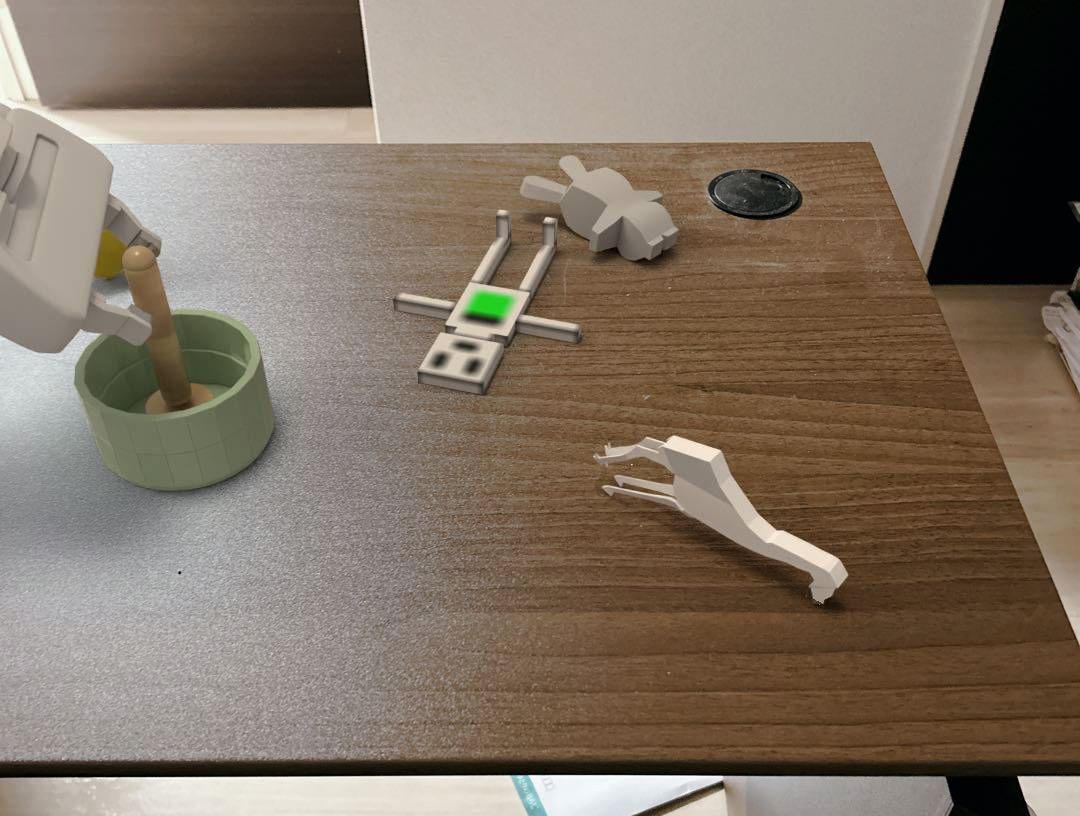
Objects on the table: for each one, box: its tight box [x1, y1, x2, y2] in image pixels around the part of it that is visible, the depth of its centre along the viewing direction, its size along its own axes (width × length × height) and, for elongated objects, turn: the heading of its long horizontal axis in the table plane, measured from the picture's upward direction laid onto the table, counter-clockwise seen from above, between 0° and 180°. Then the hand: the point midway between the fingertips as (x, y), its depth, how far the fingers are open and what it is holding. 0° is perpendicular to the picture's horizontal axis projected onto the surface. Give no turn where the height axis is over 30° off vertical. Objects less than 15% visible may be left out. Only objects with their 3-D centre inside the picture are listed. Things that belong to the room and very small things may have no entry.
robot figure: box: [392, 209, 583, 396], centre depth 97 cm, size 16×3×22 cm
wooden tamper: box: [122, 245, 214, 414], centre depth 80 cm, size 5×5×16 cm
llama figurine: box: [592, 435, 849, 605], centre depth 77 cm, size 2×11×18 cm
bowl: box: [73, 308, 275, 492], centre depth 84 cm, size 13×13×7 cm
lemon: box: [94, 229, 127, 281], centre depth 98 cm, size 6×6×8 cm
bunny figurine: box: [519, 154, 680, 261], centre depth 105 cm, size 10×5×15 cm
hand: (152, 291), depth 77 cm, fingers open, 8 cm apart
